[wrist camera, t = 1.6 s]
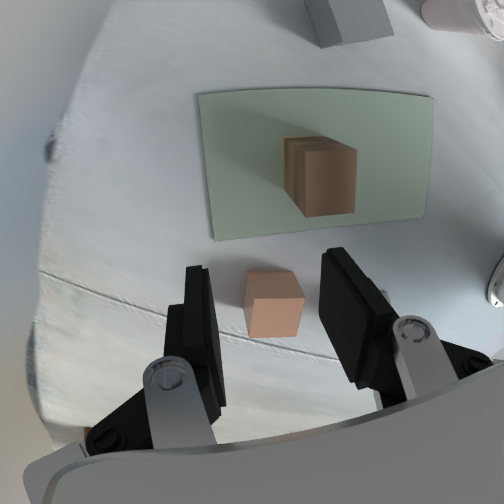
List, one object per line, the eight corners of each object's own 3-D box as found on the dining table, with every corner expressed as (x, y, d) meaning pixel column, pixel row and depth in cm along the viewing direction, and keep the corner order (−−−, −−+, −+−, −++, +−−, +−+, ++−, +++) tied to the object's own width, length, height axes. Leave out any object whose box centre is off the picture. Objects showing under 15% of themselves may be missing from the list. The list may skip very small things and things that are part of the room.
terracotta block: (292, 271, 35) (305, 298, 30) (285, 307, 37) (295, 336, 33) (247, 270, 34) (254, 298, 30) (242, 308, 36) (249, 337, 32)
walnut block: (324, 135, 28) (357, 149, 21) (324, 186, 30) (354, 212, 24) (282, 137, 27) (305, 151, 21) (284, 189, 30) (305, 217, 24)
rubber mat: (431, 97, 27) (433, 98, 27) (421, 216, 34) (423, 217, 33) (198, 94, 25) (198, 94, 24) (214, 239, 31) (214, 241, 31)
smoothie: (461, 37, 23) (556, 40, 11) (425, 47, 24) (528, 48, 12) (439, -13, 20) (532, -27, 8) (401, -7, 21) (498, -31, 9)
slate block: (350, -4, 21) (375, -17, 17) (366, 40, 24) (394, 35, 19) (303, 1, 22) (322, -13, 17) (321, 48, 24) (343, 42, 20)
